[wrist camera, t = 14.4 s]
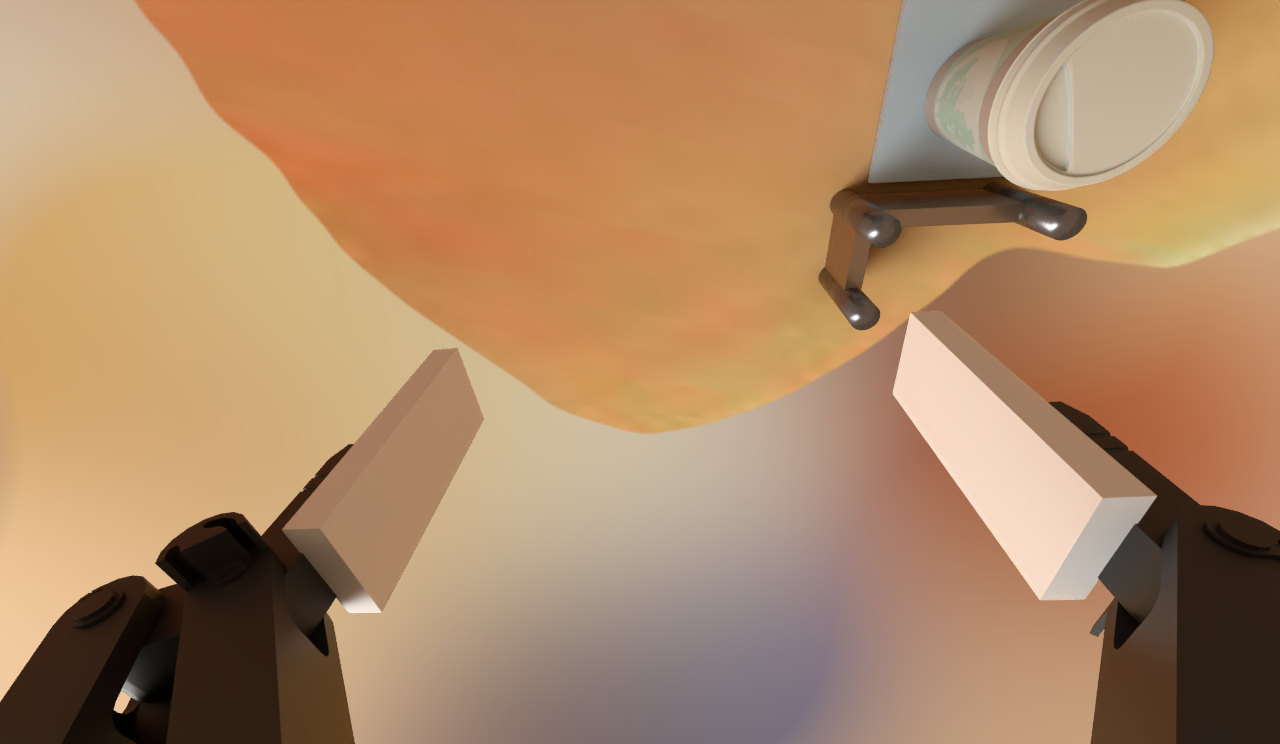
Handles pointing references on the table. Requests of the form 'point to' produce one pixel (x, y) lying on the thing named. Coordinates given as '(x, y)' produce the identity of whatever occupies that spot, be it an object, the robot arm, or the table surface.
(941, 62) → the coaster
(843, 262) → the rail
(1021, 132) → the coffee cup
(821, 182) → the table surface
